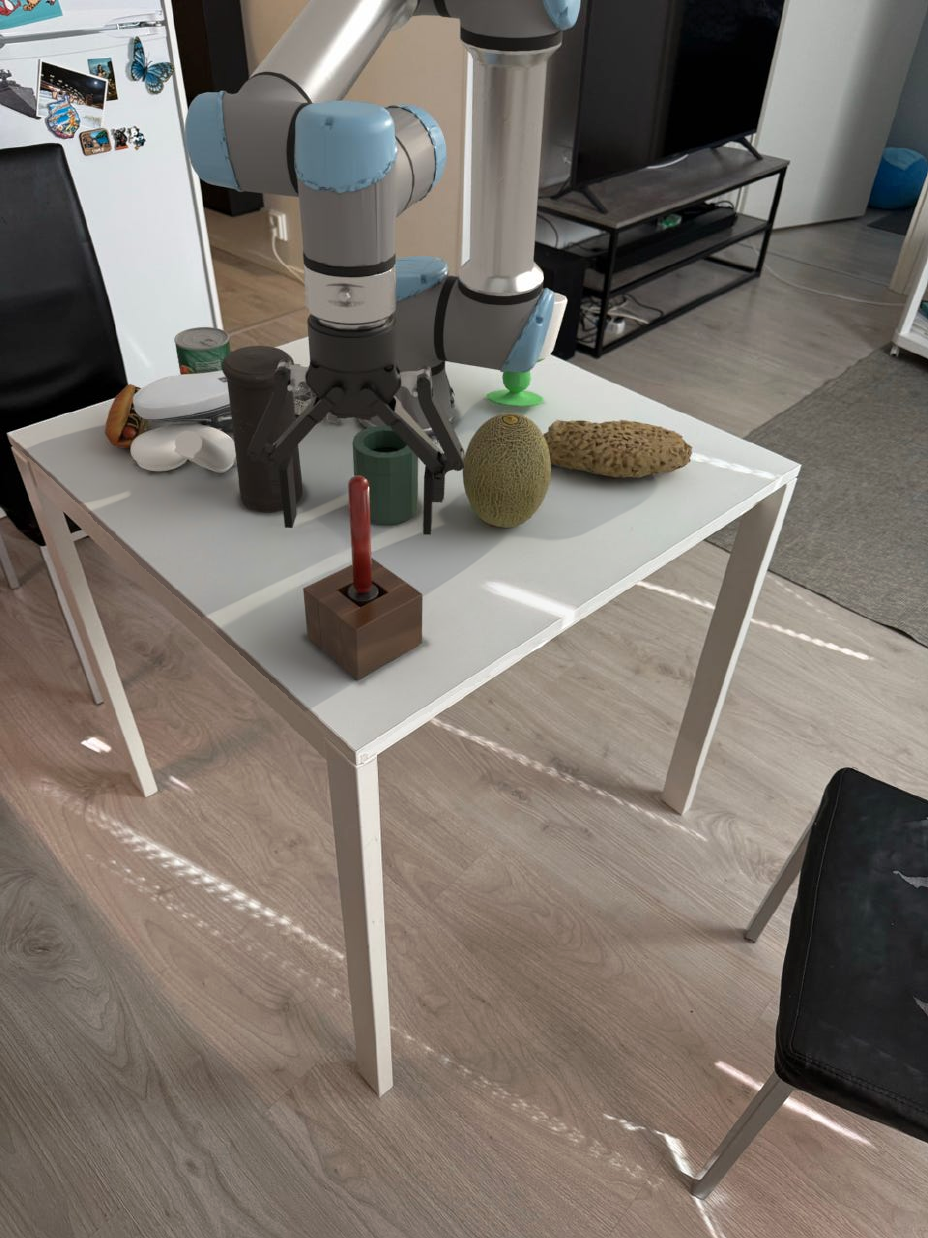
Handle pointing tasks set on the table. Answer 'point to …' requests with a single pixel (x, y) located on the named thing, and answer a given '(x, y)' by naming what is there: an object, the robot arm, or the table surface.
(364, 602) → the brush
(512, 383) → the cup
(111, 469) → the table surface
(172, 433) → the sculpture
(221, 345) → the canned tomato
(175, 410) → the boat shoe
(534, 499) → the fruit
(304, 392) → the house of cards
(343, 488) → the table surface
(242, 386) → the container
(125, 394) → the hot dog
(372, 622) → the holder
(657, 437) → the sponge
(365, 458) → the green hollow cylinder
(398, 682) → the table surface
